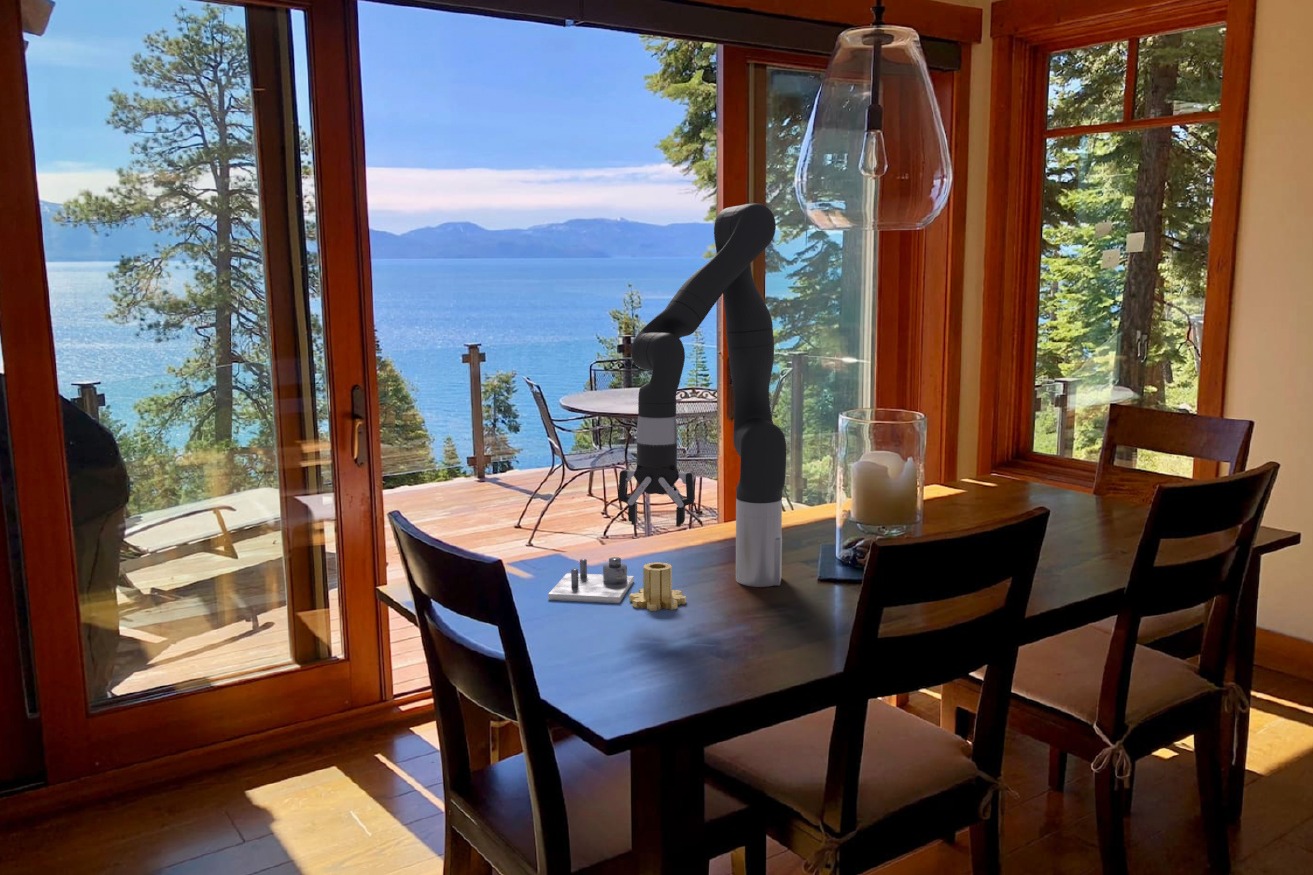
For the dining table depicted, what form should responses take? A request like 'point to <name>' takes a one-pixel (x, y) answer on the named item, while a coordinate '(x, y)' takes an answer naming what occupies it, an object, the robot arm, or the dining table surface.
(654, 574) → the planet gear
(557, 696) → the dining table surface
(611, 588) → the plate
